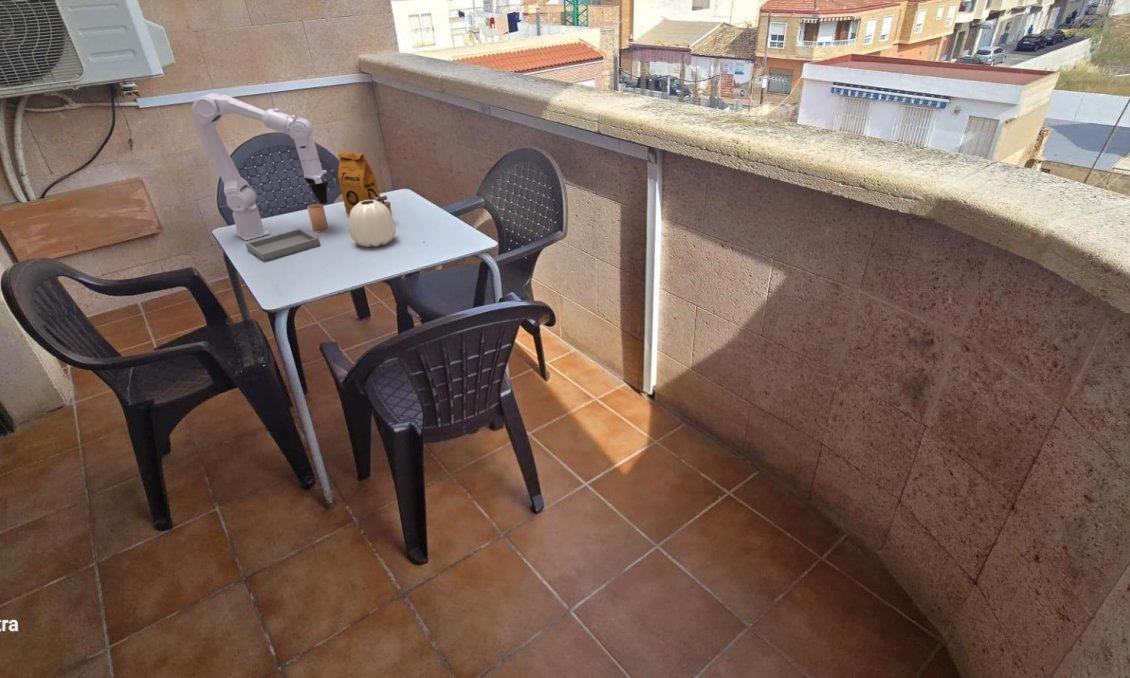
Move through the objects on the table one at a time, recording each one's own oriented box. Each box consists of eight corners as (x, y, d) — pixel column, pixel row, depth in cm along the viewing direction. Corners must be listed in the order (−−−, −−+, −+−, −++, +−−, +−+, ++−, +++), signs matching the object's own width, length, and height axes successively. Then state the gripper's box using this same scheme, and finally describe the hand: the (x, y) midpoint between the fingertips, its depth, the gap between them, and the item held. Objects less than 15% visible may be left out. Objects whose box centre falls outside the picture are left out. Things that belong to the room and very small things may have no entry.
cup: (310, 229, 198) (304, 206, 193) (324, 225, 201) (318, 202, 196) (317, 232, 194) (311, 209, 190) (331, 228, 198) (325, 205, 193)
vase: (385, 252, 178) (377, 210, 171) (344, 249, 181) (335, 208, 174) (404, 236, 190) (397, 196, 183) (366, 233, 192) (358, 194, 185)
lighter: (377, 230, 195) (371, 201, 190) (370, 228, 197) (365, 199, 192) (396, 223, 201) (391, 195, 195) (390, 221, 202) (384, 193, 197)
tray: (247, 250, 182) (245, 243, 180) (302, 235, 192) (300, 228, 191) (264, 262, 174) (262, 254, 172) (320, 245, 184) (318, 238, 183)
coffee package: (368, 221, 203) (355, 157, 192) (342, 216, 208) (328, 154, 197) (388, 212, 211) (376, 151, 199) (362, 208, 216) (350, 148, 205)
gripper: (326, 160, 180) (338, 203, 187) (318, 152, 191) (330, 192, 198) (303, 165, 177) (316, 207, 184) (296, 156, 188) (308, 197, 195)
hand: (321, 200), depth 191 cm, fingers open, 7 cm apart
